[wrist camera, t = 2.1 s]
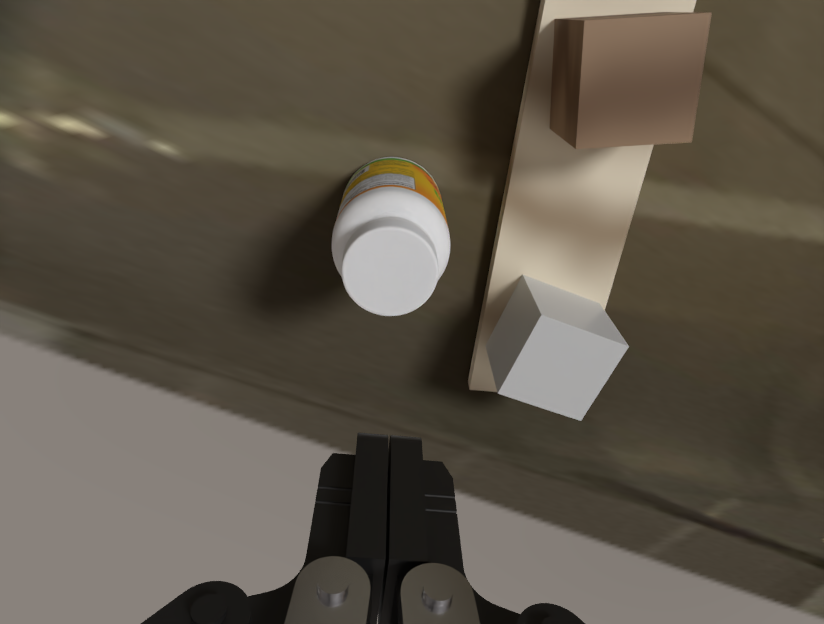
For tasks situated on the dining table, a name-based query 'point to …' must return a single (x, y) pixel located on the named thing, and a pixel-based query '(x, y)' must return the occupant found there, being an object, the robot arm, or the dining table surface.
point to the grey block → (553, 348)
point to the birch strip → (560, 191)
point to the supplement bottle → (391, 236)
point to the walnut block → (627, 78)
